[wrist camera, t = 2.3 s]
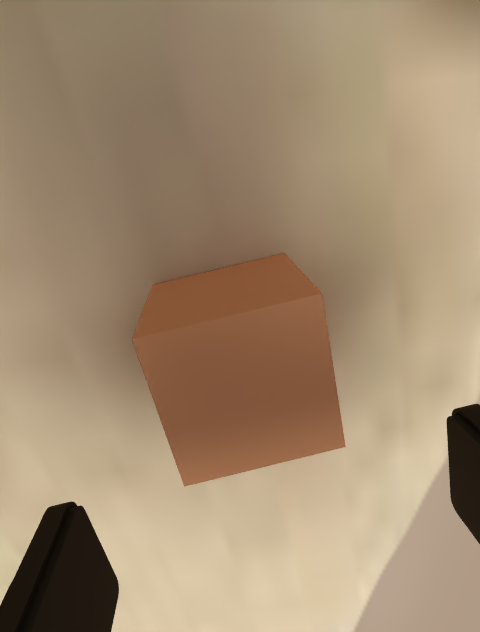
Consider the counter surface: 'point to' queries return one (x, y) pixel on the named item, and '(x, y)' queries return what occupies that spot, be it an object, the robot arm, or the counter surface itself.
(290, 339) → the terracotta block
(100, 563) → the robot arm
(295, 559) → the counter surface
